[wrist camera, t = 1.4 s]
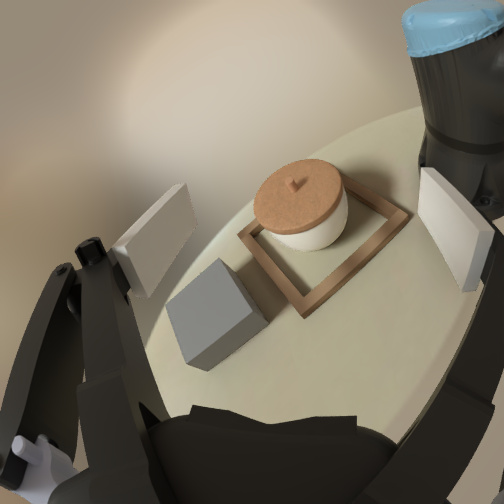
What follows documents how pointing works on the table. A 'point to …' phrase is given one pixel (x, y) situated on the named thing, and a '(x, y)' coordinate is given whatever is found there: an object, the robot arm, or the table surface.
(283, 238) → the lidded jar
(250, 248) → the walnut collar
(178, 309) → the gray stand
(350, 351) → the table surface
